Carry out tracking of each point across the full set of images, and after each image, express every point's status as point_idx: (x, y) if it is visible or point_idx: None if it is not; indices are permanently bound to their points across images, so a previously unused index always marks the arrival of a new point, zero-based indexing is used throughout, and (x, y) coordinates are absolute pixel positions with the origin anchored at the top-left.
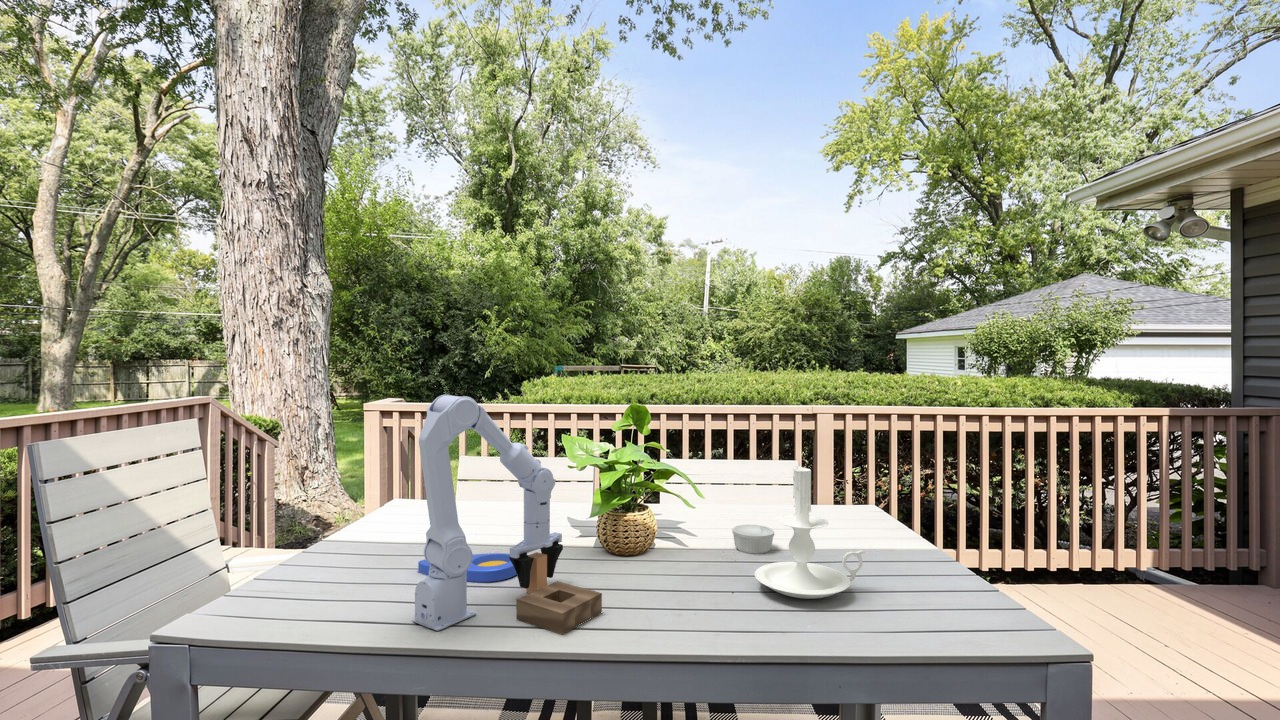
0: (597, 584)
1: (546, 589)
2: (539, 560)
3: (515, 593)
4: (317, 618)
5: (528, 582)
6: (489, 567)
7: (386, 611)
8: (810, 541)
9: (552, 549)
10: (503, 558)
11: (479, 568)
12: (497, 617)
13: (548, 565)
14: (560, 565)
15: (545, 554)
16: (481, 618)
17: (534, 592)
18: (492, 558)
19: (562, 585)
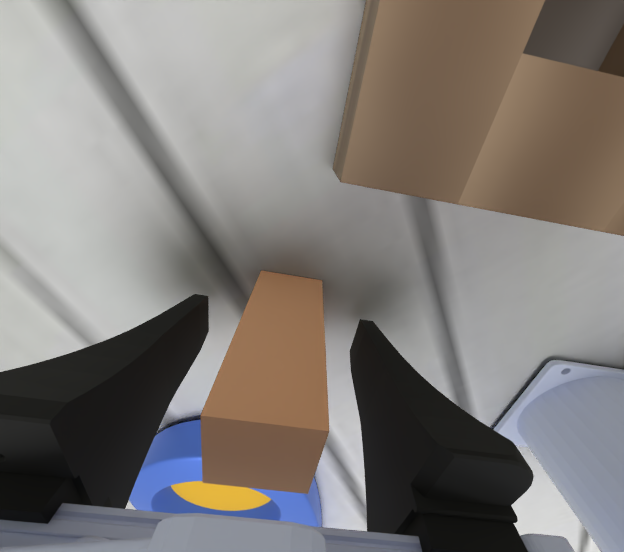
0: (24, 65)
1: (523, 162)
2: (297, 404)
3: (337, 350)
4: (573, 547)
5: (377, 333)
6: (276, 494)
7: (533, 502)
8: None
9: (93, 436)
10: (164, 496)
11: (294, 505)
12: (565, 293)
13: (178, 352)
14: (21, 356)
15: (203, 426)
16: (574, 332)
17: (585, 210)
18: (184, 511)
19: (415, 83)
